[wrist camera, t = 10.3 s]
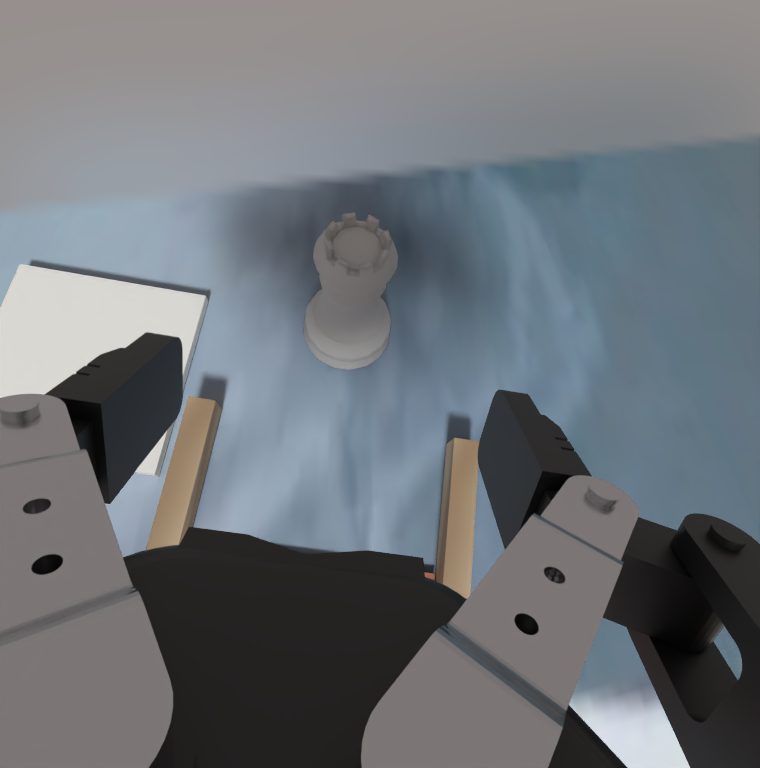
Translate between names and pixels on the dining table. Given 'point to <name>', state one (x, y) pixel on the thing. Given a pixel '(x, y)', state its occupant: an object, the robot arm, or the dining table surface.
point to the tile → (86, 330)
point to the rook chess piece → (351, 293)
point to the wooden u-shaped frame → (193, 463)
